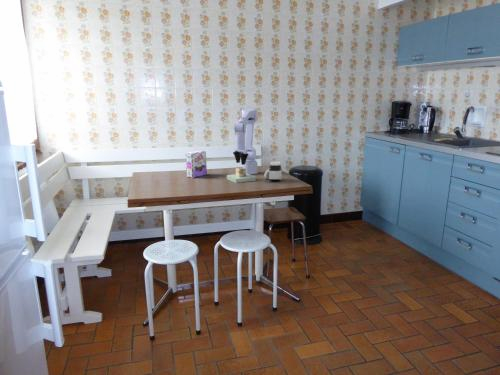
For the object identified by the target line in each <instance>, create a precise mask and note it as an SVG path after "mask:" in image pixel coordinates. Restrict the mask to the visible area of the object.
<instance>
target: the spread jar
mask: <svg viewBox="0 0 500 375" xmlns="http://www.w3.org/2000/svg"><path fill="white" fill-rule="evenodd" d="M281 164H282V162H281V161H270V162H269V167H268V168H267V169H266V170H265V172H264V174H263V177H264V179H266V180H268V179H269V181H270V182H274V183H275V182H277V183H278V182H282V173H283V172H282V165H281Z"/></svg>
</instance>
